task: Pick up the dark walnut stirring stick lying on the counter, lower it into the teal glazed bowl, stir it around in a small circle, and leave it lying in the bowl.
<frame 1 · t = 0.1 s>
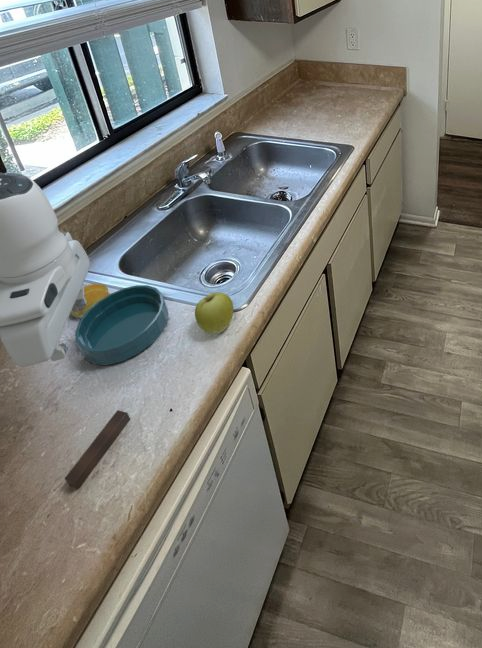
hand: (71, 330, 73), 25 cm above the worktop, tool pointing down, fingers open, 8 cm apart
bread roll: (92, 305, 108), on the worktop
bowl: (127, 330, 101), on the worktop
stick: (104, 454, 78), on the worktop
apple: (218, 324, 102), on the worktop
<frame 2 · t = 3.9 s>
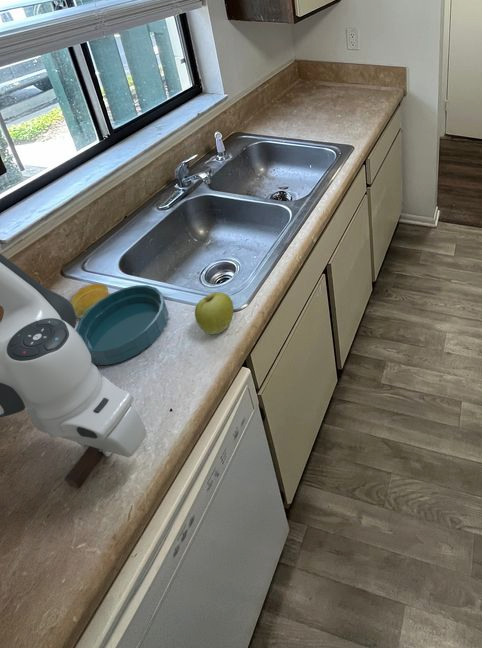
hand: (100, 448, 77), 2 cm above the worktop, tool pointing down, fingers closed on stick, 2 cm apart
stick: (104, 454, 78), on the worktop, touching gripper
everything else where it was.
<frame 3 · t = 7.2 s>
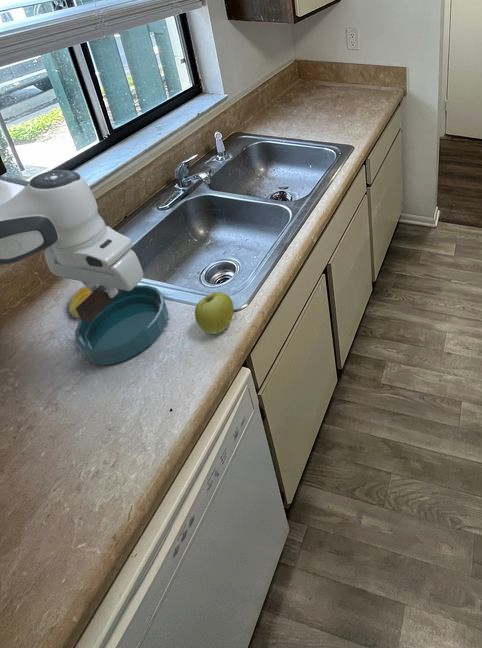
hand: (105, 293, 92), 15 cm above the worktop, tool pointing down, fingers closed on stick, 2 cm apart
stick: (108, 299, 93), point 13 cm above the worktop, touching gripper
everything else where it was.
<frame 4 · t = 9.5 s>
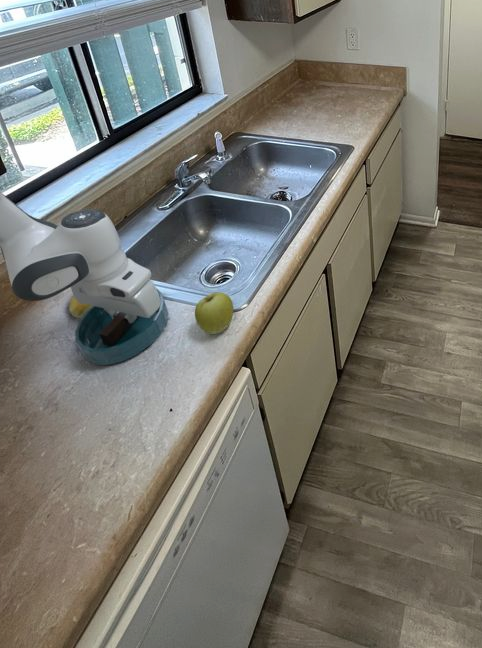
hand: (125, 318, 100), 3 cm above the worktop, tool pointing down, fingers closed on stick, 2 cm apart
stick: (127, 324, 101), point 1 cm above the worktop, touching gripper
everything else where it was.
when the fingers open (2 cm above the worktop, at t = 10.9 s): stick stays where it is, resting on bowl.
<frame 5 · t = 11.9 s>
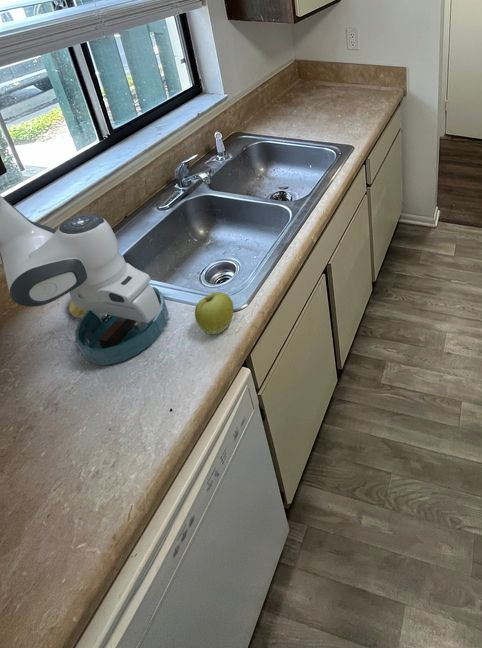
hand: (124, 323, 100), 2 cm above the worktop, tool pointing down, fingers open, 8 cm apart
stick: (126, 329, 100), point 1 cm above the worktop, touching bowl
everything else where it was.
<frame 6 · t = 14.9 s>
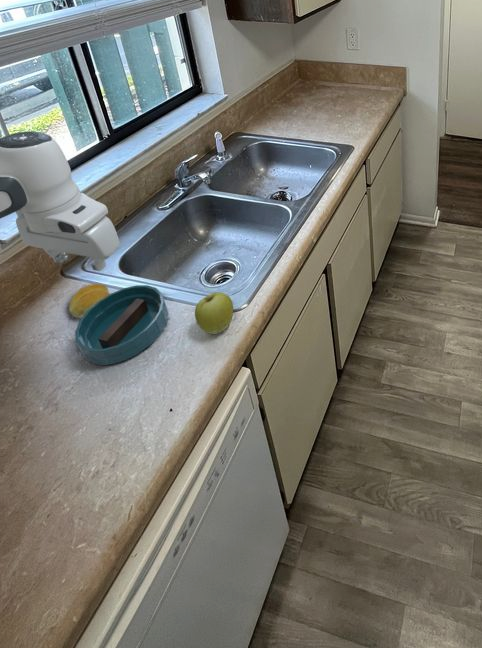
hand: (81, 264, 88), 23 cm above the worktop, tool pointing down, fingers open, 8 cm apart
nothing on the worktop moved.
at the end: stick inside the target area in the bowl (0.2 cm from its centre), point 0.6 cm above the bowl's base; the gripper is holding nothing; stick moved 26.9 cm from its start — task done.
